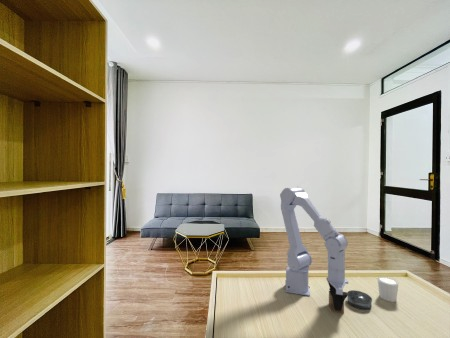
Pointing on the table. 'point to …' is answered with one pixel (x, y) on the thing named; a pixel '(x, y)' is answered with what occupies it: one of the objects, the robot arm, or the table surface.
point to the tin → (359, 300)
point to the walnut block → (333, 304)
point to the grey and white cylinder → (388, 288)
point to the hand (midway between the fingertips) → (336, 303)
